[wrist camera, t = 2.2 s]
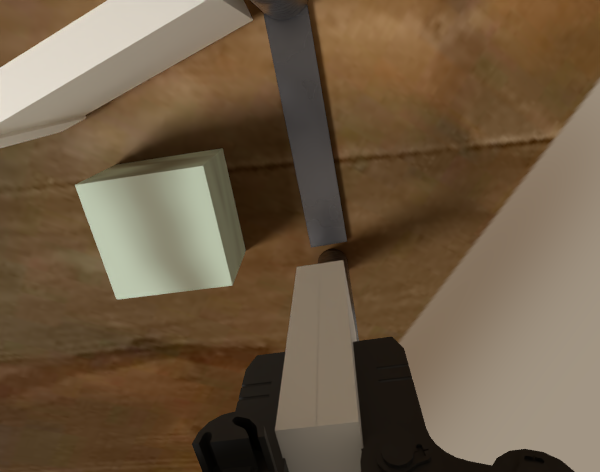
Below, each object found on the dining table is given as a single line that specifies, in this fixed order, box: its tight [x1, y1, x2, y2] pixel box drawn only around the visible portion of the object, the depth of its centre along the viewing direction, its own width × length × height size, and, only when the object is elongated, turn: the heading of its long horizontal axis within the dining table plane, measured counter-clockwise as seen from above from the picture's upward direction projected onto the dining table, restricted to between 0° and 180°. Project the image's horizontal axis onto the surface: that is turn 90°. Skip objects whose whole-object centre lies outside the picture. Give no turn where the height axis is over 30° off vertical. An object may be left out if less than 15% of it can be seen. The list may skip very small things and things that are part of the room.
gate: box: [0, 0, 253, 148], centre depth 19 cm, size 13×2×9 cm, turn 116°
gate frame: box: [250, 0, 359, 341], centre depth 20 cm, size 3×19×12 cm, turn 11°
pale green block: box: [75, 148, 246, 299], centre depth 26 cm, size 7×7×5 cm
